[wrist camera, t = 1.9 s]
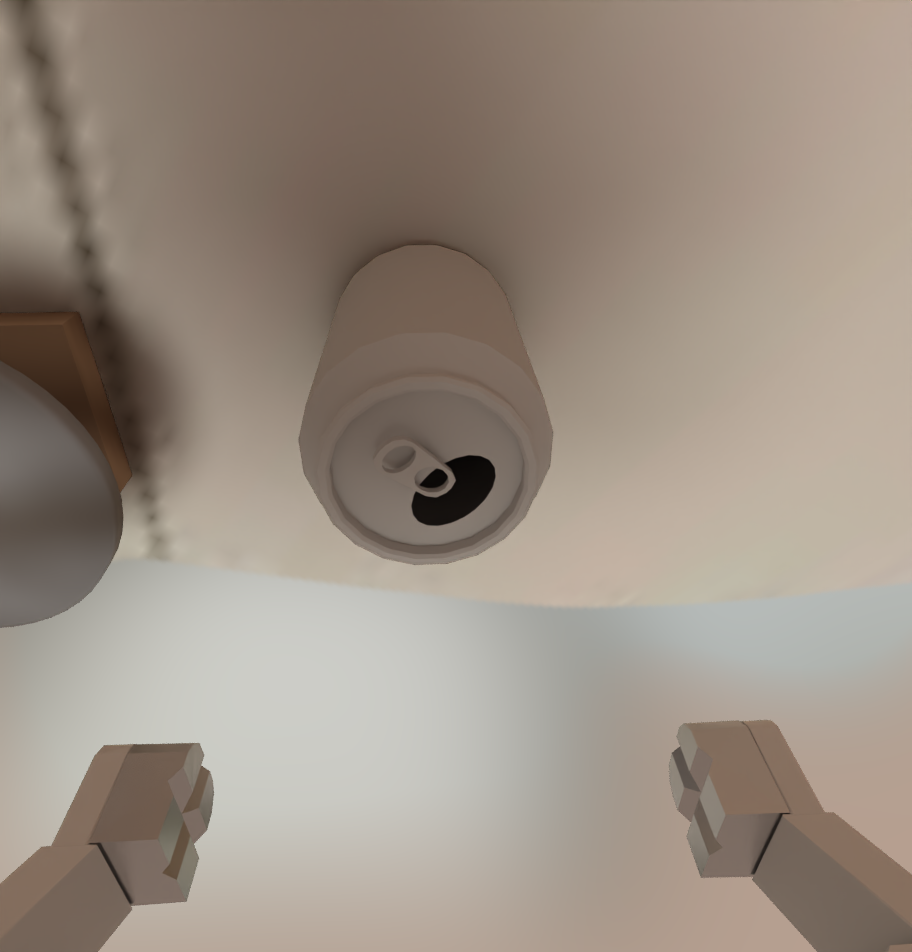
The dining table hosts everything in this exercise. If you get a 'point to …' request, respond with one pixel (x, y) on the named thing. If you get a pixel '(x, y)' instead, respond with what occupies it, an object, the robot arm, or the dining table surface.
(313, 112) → the dining table surface
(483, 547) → the can
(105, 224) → the dining table surface
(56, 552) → the scale
